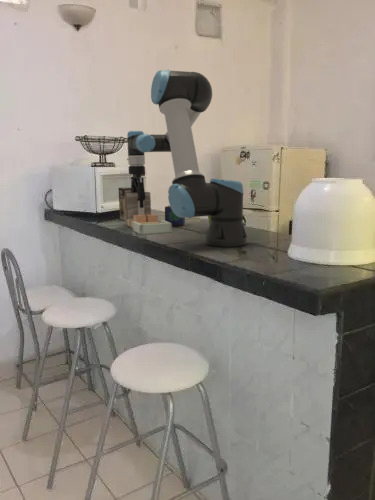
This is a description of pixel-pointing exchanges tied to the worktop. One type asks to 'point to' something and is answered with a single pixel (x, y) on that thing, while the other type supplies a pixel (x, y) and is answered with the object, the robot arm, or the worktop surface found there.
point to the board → (130, 223)
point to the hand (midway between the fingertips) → (138, 213)
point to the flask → (173, 217)
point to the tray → (152, 228)
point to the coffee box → (123, 202)
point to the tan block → (136, 204)
